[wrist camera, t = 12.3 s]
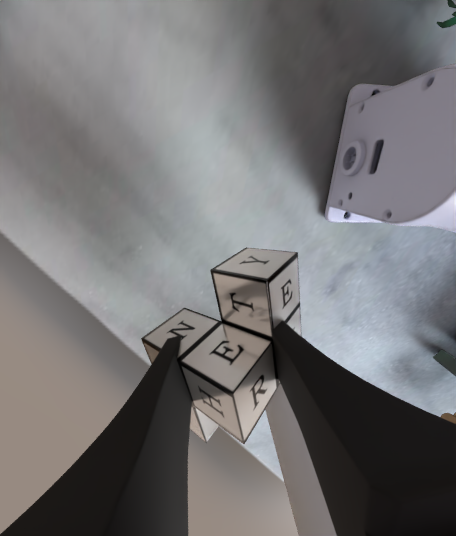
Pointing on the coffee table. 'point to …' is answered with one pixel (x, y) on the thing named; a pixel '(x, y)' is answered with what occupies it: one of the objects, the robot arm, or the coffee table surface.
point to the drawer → (452, 365)
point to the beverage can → (298, 470)
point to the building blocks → (234, 341)
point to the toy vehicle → (451, 21)
